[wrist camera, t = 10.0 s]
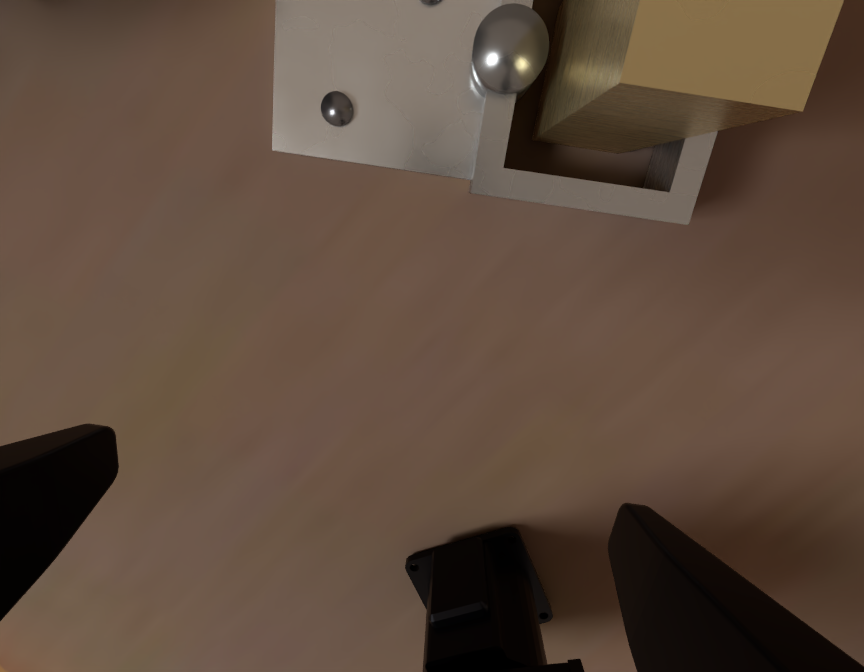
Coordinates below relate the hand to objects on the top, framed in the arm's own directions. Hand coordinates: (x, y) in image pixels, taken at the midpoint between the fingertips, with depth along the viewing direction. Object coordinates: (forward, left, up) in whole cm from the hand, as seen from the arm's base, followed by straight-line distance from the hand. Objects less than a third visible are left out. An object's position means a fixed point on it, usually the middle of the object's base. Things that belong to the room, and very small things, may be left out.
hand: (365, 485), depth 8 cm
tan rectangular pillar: (+6, -9, -13) cm, 17 cm away
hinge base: (+7, -6, -13) cm, 16 cm away
